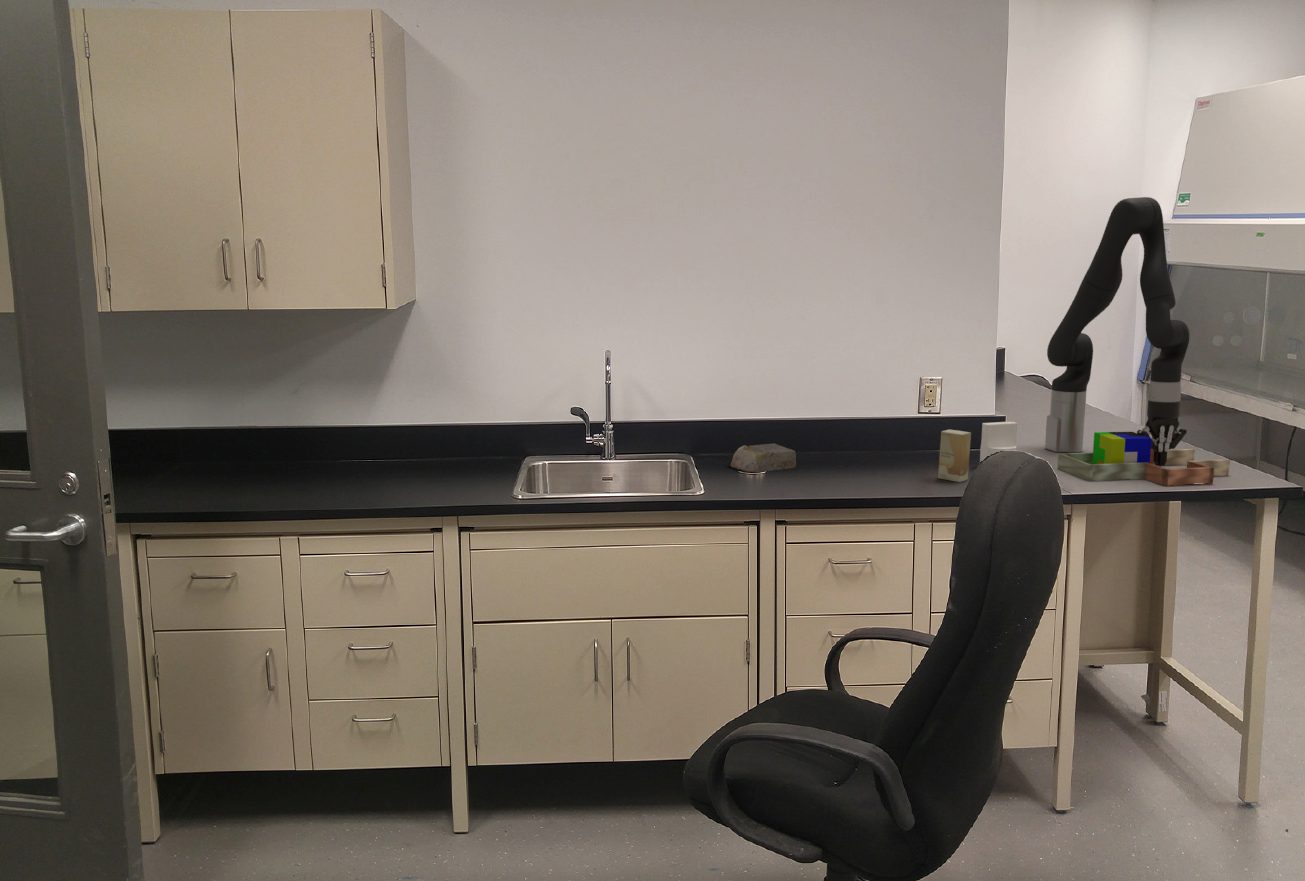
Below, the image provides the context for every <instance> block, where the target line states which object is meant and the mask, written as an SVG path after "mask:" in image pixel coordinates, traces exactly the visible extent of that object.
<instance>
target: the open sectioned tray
mask: <svg viewBox="0 0 1305 881" xmlns="http://www.w3.org/2000/svg"><path fill="white" fill-rule="evenodd" d="M1195 450H1196V449H1193V448H1188V449H1186V448H1185V449H1182V448H1181V449H1170V450H1169V451H1168V452H1167V462H1166V464H1165V466H1168V467H1169V466H1186V467H1185V468H1184V467H1183V468H1182V467H1179V468H1165V466H1164V467H1163V466H1157V465H1155V463H1154V462H1153V458H1154V451H1153V450H1152V449H1151V452H1150V463H1147V462H1143V463H1115V464H1092V460H1093V452H1065V453H1058V459H1057V460H1058V461H1057V470H1060V471H1062V472H1064V473H1067V474H1070V475H1072V476H1074V477H1077V478H1080V479H1082V480H1084V481H1087V482H1096V481H1097V482H1099V481H1100V482H1102V481H1104V482H1105V481H1120V480H1119V479H1130V480H1146V481H1149V482H1152V483H1155V484H1157V483H1158V484H1157V485H1160V486H1162V487H1169V486H1170V485H1175V486H1184V485H1183V484H1194V483H1214V477H1225V476H1229V474H1230V472H1229V471H1230V464H1231V463H1230V462H1231V460H1230V459H1227V458H1226V459H1203V460H1202V459H1201V460H1195ZM1143 478H1144V479H1143ZM1170 487H1171V486H1170Z"/></svg>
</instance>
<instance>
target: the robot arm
mask: <svg viewBox="0 0 1305 881" xmlns="http://www.w3.org/2000/svg"><path fill="white" fill-rule="evenodd" d="M1162 211H1163V210H1162V207H1161V205H1160V203H1159V202H1158V200H1157V199H1155V198H1153V197H1150V196H1142V197H1129V198H1123V199H1121V200H1119V201H1118V202H1117V203H1116V204H1115V205H1114V207H1113V208H1112V210H1111V212H1110V215H1109V217H1108V219H1107V222H1106V226H1105V228H1104V232H1103V234H1102V237H1101V240H1100V243H1099V245H1098V247H1097V250H1096V251H1095V253H1094V256H1093V258H1092V260H1091V263H1090V265H1089V266H1088V269H1087V271H1086V273H1085V274H1084V276H1083V279H1082V280H1081V283H1080V285H1079V287H1078V290H1077V292H1076V294H1075V296H1074V299H1073V300H1072V302H1071V304H1070V306H1069V308H1068V310H1067V312H1066V313H1065V314H1064V316H1063V318H1062V319H1061V322H1060V324H1059V325H1058V326H1057V328H1056V330H1055V331H1054V333H1053V335H1052V336H1051V338H1050V340H1049V343H1048V345H1047V348H1046V349H1047V350H1046V352H1047V353H1046V355H1047V359H1048V362H1049V363H1050V364H1051V365H1053V366H1056V367H1066V368H1065V371H1064V372H1063V373H1062V374H1061V375H1059V376H1057V377H1056V378H1054V379H1052V382H1051V391H1050V392H1051V394H1050V396H1051V397H1050V410H1049V412H1050V413H1049V415H1046V422H1045V423H1046V424H1045V425H1046V426H1045V441H1044V442H1045V444H1044V448H1045V449H1046V450H1049V451H1051V452H1056V453H1082V452H1083V446H1084V433H1085V432H1084V431H1085V419H1086V418H1085V417H1086V403H1087V390H1088V389H1087V388H1088V384H1089V383H1090V379H1091V373H1092V366H1093V365H1092V364H1093V358H1094V357H1093V356H1094V345H1093V342H1092V339H1091V336H1089V335H1088V334H1086V333H1082V332H1083V330H1084V329H1085V327H1087V326H1088V325H1089V324H1090V323H1092V321H1093V320H1095V319H1096V318H1097V317H1098V316H1100V315H1101V314H1102V313H1103V312H1104V311H1105V310H1106V309H1108V307H1109V306H1110V305H1111V303H1112V302H1113V300H1114V298H1115V296H1116V295H1117V293H1118V290H1119V289H1120V286H1121V284H1122V283H1123V282H1122V281H1123V264H1122V258H1123V253H1124V250H1125V248H1126V246H1127V244H1128V242H1129V240H1130V239H1131V238H1132V237H1133V235H1139V236H1140V239H1141V243H1142V246H1143V258H1142V259H1143V260H1142V264H1141V265H1142V266H1141V270H1140V274H1139V284H1140V285H1139V286H1140V291H1141V295H1142V299H1143V303H1144V306H1145V334H1146V336H1147V338H1146V339H1147V340H1148V343H1149V344H1150V345H1151V346H1152V347H1153V348H1156V349H1158V350H1159V349H1160V352H1159V354H1158V356H1157V357H1156V358H1154V359H1153V360H1152V361H1151V366H1150V380H1149V385H1148V393H1147V408H1146V416H1147V421H1146V423H1145V426H1144V427H1143V428H1142V429H1138V430H1137V431H1136V433H1137V434H1140V435H1143V436H1146V437H1149V438H1151V449H1152V450H1153V451H1154V458H1153V462H1154V463H1155V465H1157V466H1159V467H1165V464H1166V462H1167V452H1168V451H1169V450H1175V449H1176V447H1178V445H1179V443H1180V442H1181V441H1182V440H1183V438H1184V437H1185V436H1186V434H1187V433H1188V431H1187V429H1184V428H1183V427H1181V426H1180V422H1179V417H1180V411H1181V397H1182V385H1181V384H1182V381H1181V379H1182V365H1183V362H1184V359H1185V356H1186V353H1187V350H1188V346H1189V344H1190V330H1189V327H1188V325H1187V324H1186V323H1185V322H1184V321H1182V320H1180V319H1171V310H1172V309H1174V308H1175V307H1176V302H1177V301H1176V298H1175V292H1174V290H1173V289H1174V288H1173V285H1172V282H1171V278H1170V272H1169V269H1168V262H1167V252H1166V250H1167V248H1166V239H1165V227H1164V216H1163V212H1162Z"/></svg>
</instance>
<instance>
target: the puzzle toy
mask: <svg viewBox="0 0 1305 881" xmlns="http://www.w3.org/2000/svg"><path fill="white" fill-rule="evenodd" d="M1093 432H1094V431H1093ZM1151 439H1152V437H1150V438H1149V437H1146V436H1143V435H1140V434H1137V432H1135V431H1095V432H1094V434H1093V447H1092V453H1093V460H1092V464H1115V463H1143V462H1147V463H1150V452H1151Z"/></svg>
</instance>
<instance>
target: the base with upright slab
mask: <svg viewBox="0 0 1305 881" xmlns="http://www.w3.org/2000/svg"><path fill="white" fill-rule="evenodd" d="M1017 433H1018V422H1014V421H999V422H998V421H996V422H982V426H981V443H980V449H979V450H980V452H979V463H980V462H981V461H983V460H984V459H985V458H986V457H987V456H990V455H991V454H994V453H996V452H1000V451H1005V450H1016V451H1017V448H1018V447H1017V439H1018V438H1017V435H1018V434H1017Z"/></svg>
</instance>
